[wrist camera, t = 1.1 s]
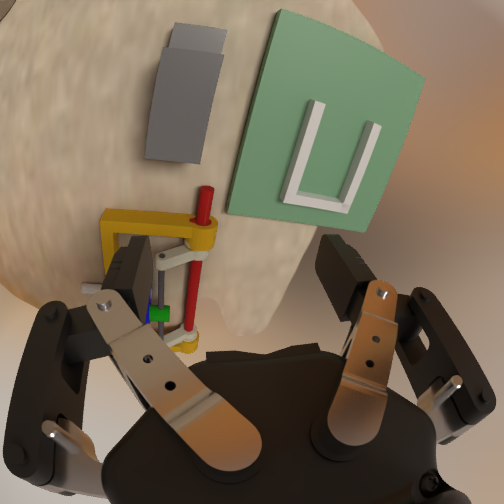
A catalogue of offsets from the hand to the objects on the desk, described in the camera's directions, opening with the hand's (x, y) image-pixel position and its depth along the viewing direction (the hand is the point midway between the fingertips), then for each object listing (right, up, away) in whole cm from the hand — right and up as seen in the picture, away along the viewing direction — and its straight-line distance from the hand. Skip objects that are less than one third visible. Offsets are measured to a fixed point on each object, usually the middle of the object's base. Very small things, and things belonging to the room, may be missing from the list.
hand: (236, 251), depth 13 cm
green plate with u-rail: (+10, +14, +17) cm, 24 cm away
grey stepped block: (-6, +17, +11) cm, 21 cm away
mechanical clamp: (-15, -3, +25) cm, 30 cm away
